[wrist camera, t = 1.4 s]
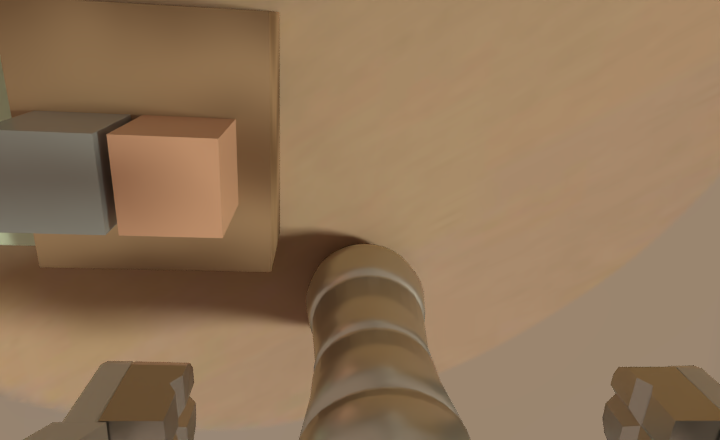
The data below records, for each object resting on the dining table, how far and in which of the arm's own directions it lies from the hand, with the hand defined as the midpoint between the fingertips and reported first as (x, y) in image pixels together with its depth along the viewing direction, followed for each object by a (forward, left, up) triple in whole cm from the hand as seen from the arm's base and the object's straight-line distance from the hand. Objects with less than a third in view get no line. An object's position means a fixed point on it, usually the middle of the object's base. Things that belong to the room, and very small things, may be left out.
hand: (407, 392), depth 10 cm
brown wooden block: (-1, -10, -20) cm, 22 cm away
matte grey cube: (0, -12, -15) cm, 20 cm away
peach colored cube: (0, -8, -15) cm, 17 cm away
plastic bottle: (+8, +1, -21) cm, 22 cm away
